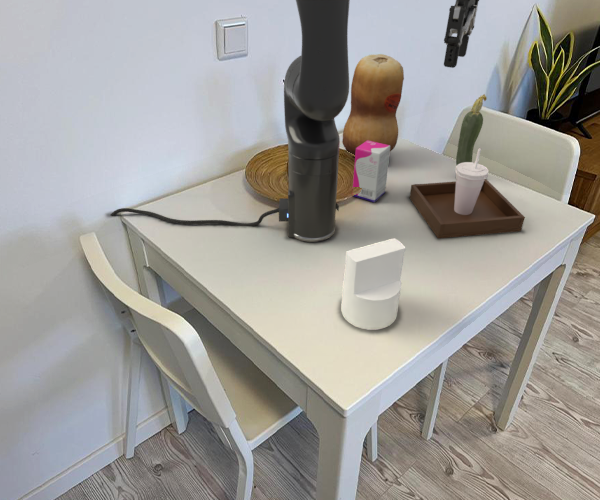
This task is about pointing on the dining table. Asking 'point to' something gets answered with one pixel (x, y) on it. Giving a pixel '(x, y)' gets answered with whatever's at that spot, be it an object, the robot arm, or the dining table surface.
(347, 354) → the dining table surface
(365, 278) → the cylinder with rectangular tab
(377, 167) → the supplement box
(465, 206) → the smoothie
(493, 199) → the tray
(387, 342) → the dining table surface
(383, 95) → the butternut squash
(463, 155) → the vegetable
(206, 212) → the dining table surface
